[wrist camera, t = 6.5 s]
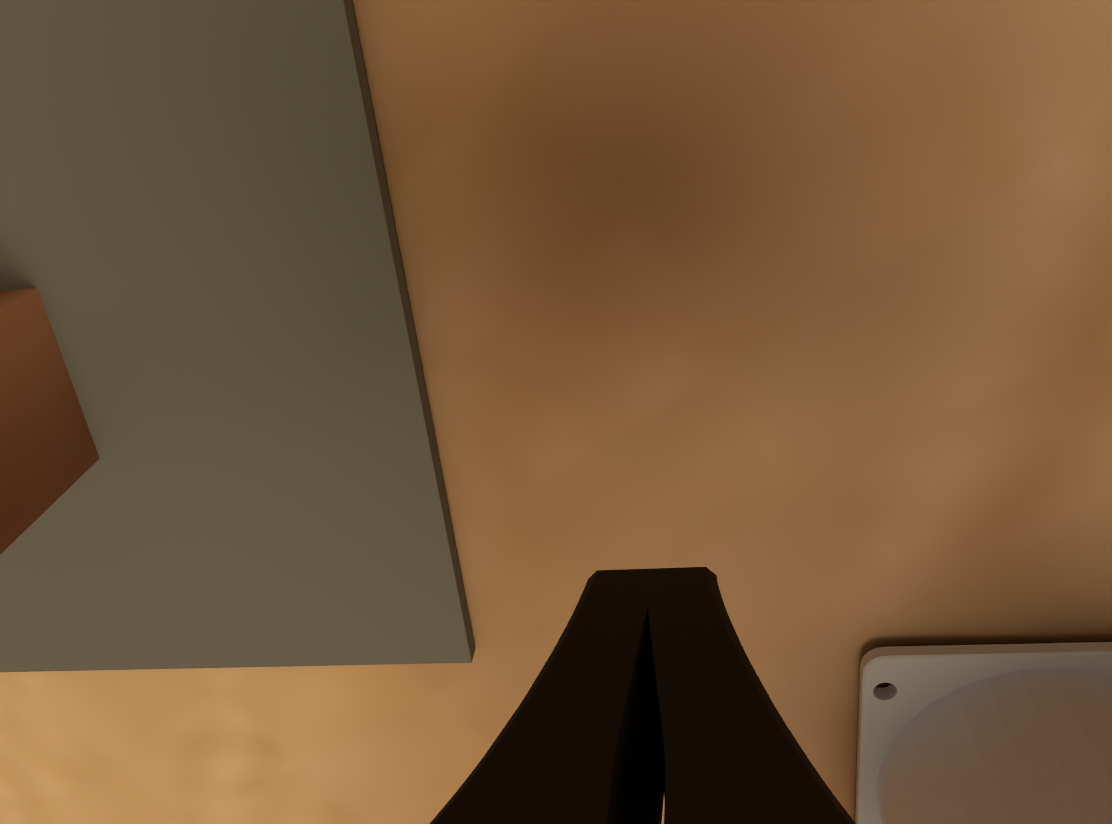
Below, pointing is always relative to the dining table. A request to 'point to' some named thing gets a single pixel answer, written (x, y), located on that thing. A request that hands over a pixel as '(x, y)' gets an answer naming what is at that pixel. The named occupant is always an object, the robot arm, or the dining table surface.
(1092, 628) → the dining table surface
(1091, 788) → the robot arm
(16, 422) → the maple block
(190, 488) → the rubber mat
